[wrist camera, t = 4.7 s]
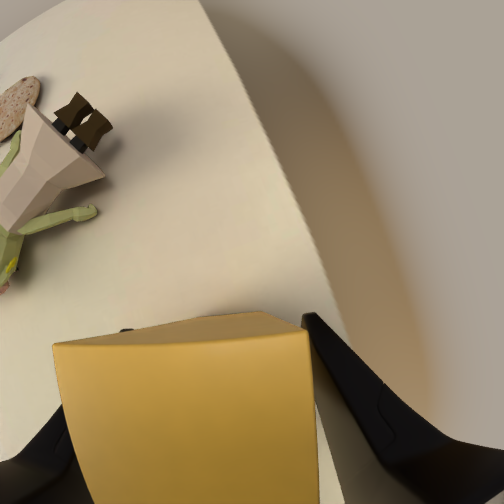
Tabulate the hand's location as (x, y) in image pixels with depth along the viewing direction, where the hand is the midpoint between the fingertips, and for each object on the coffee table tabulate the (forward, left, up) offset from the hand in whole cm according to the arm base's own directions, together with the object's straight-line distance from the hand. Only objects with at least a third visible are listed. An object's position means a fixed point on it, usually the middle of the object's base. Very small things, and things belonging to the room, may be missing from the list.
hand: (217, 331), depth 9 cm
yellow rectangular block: (-1, +1, -7) cm, 7 cm away
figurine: (+13, +8, -7) cm, 16 cm away
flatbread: (+26, +9, -7) cm, 28 cm away
